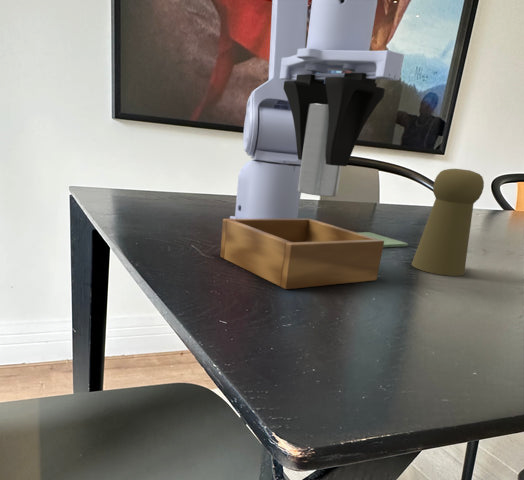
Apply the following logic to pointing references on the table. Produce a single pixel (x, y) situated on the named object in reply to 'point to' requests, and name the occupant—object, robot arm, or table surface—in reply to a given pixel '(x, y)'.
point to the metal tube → (317, 156)
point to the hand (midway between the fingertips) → (321, 162)
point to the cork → (449, 223)
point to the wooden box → (300, 251)
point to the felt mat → (386, 240)
